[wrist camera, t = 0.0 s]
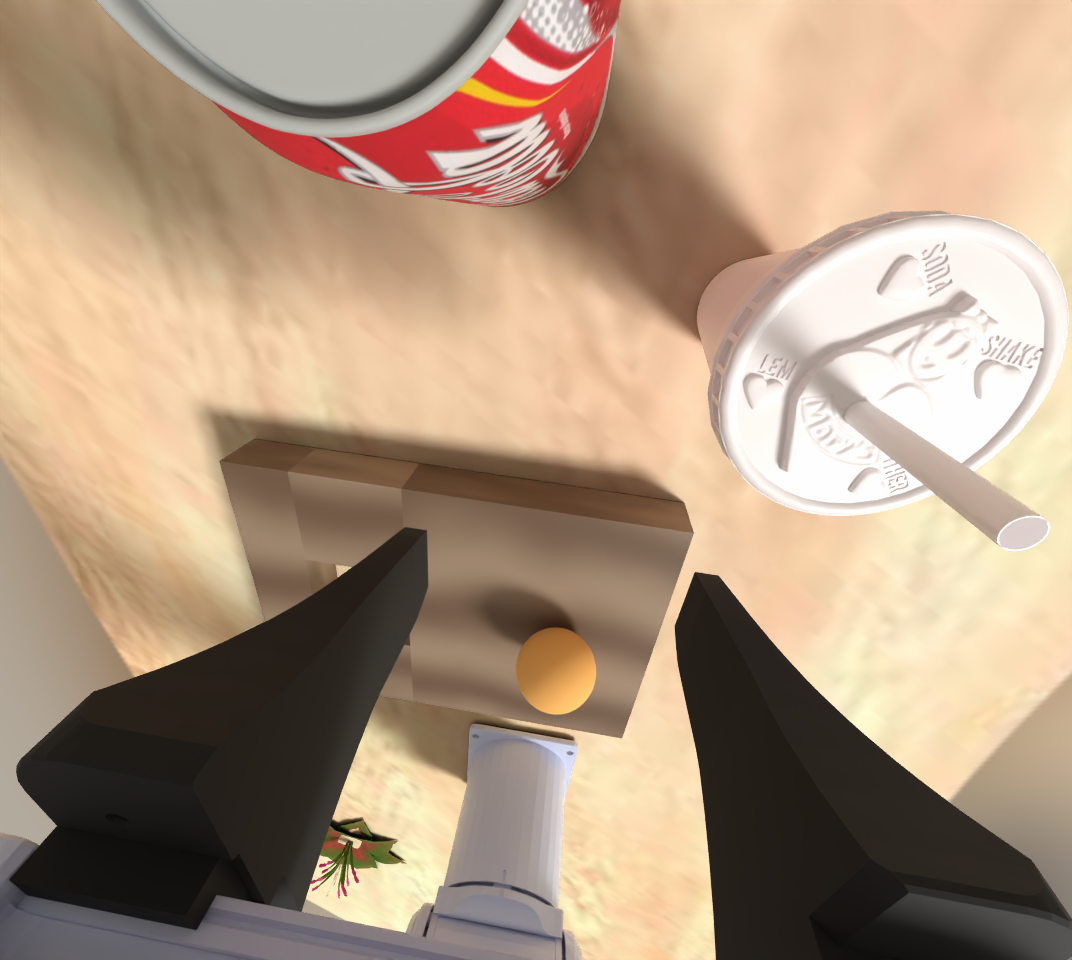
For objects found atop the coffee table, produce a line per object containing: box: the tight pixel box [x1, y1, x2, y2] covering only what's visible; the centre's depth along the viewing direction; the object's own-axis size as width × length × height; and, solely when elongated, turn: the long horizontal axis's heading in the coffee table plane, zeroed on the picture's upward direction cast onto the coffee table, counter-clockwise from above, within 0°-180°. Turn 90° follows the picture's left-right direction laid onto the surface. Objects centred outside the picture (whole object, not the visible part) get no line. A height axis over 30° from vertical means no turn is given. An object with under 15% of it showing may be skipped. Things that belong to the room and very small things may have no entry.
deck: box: [220, 439, 694, 738], centre depth 26 cm, size 16×22×2 cm
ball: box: [516, 627, 596, 714], centre depth 23 cm, size 4×4×4 cm
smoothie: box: [697, 211, 1068, 551], centre depth 12 cm, size 6×6×14 cm
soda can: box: [96, 0, 621, 207], centre depth 9 cm, size 7×7×13 cm
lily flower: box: [310, 820, 405, 898], centre depth 45 cm, size 12×12×5 cm
